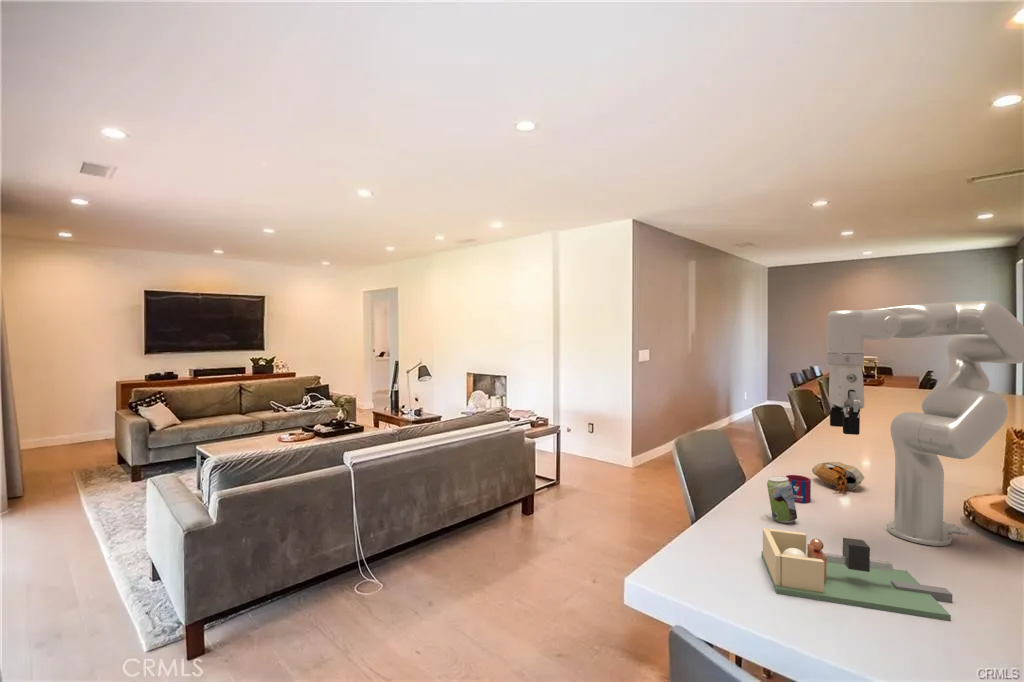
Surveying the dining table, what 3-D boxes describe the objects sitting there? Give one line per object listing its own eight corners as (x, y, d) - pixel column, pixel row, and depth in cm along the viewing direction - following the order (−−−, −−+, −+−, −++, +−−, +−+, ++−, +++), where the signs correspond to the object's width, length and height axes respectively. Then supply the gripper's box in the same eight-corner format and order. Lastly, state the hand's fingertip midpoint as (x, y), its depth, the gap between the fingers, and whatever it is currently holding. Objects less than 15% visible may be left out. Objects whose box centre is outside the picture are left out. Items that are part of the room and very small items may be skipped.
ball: (777, 543, 104) (780, 566, 104) (782, 553, 100) (785, 577, 99) (803, 544, 103) (806, 567, 103) (809, 554, 98) (813, 578, 98)
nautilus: (862, 503, 147) (805, 495, 156) (867, 482, 163) (815, 476, 173) (860, 477, 146) (804, 471, 156) (865, 459, 163) (814, 454, 172)
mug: (783, 500, 148) (783, 478, 148) (789, 491, 155) (789, 471, 155) (808, 505, 143) (809, 482, 143) (813, 496, 151) (813, 475, 151)
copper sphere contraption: (884, 576, 98) (884, 540, 98) (897, 591, 93) (897, 553, 93) (806, 565, 103) (806, 531, 103) (813, 578, 97) (814, 542, 97)
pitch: (926, 577, 101) (927, 545, 101) (975, 624, 85) (975, 585, 84) (761, 555, 111) (761, 525, 111) (776, 593, 95) (776, 558, 95)
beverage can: (800, 526, 128) (801, 481, 128) (771, 523, 129) (771, 480, 129) (791, 517, 134) (792, 475, 134) (763, 515, 135) (764, 473, 135)
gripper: (877, 363, 106) (876, 438, 107) (850, 359, 123) (849, 424, 123) (838, 362, 109) (837, 436, 109) (816, 358, 125) (816, 422, 126)
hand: (844, 430), depth 116 cm, fingers open, 9 cm apart
